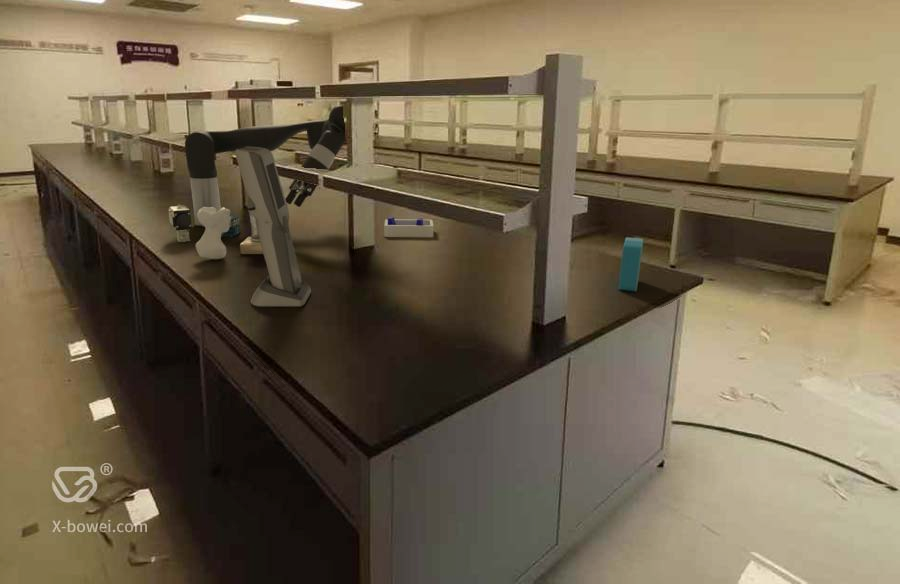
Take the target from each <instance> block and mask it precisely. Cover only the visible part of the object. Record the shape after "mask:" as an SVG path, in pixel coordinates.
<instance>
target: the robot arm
mask: <svg viewBox="0 0 900 584" xmlns="http://www.w3.org/2000/svg"><path fill="white" fill-rule="evenodd" d="M343 105H344V104H336V105H335V106H333V108H332V109H331V111H330V112H329V115H328V118H327V119H317V120H316V119H315V120H309V121H308V120H306V121H302V122H295V123H286V124H269V125H266V124H265V125H256V126H247V127H241V128H236V129H232V130H225V131H222V130H221V131H219V130H218V131H215V130H214V131H211V130H210V131H209V130H196V131H193V132H191V133H189V134H188V135H187V136H186V138H185V140H184V150H185V151H184V152H185V158H186V166H187V171H188V173H189V183H190V190H191V197H192V206H193V216H194V225H195V226H198V227H205V226H204V225H202V224H201V223H200V222H199V220H198V218H197V213H198V211H199V210H200V209H201V208H203V207H208V208H210V207H213V208H215V209H216V212H218V211H219V209H220V208H222V207H221V199H220V198H221V197H220V191H219V188H220V187H219V181H218V170H217V167H216V161H215V155H217V154H223V153H229V152H230V153H231V152H234V153H235V151H236V149H241V148H244V147H246V146H248V147H259V148H266V149H268V150H270V151H271V152H272V151H275V150H277V149H279V148H281V146H282V145H283V144H284V143H286V142H287V141H288V140H290V139H291V138H293V137H294V136H296V135H298V134H301V133H303V132H306V136H307V141H308V145H309V146H308V147H309V148H310V152H309V154H308V155H307V157H306V158H305V160H304V162H303V163H302V165H301V167H304V168H316V169H328V170H329V169H330V168H331V167H332V165H333V163H334V161H335V158H336V157H337V155H338V154H339V152H340V150H341V149H342V148H343V146H344V145H345V144H346V143H347V141H346V139H345V123H344V118H343ZM301 167H300V168H301ZM317 186H318V185H314V184H310V183H306V182H302V181H297V180H295V179H294V180H293V181H292V182H291V184H290V186H288V187H289V188H288V189H289V192H288V194H287V196H285V199H286V203H287V205H292V203H293V205H295V206H296V207H298V208H301V206H302V205H303V203H304V201H305V200H306V199H307V198H308V197H312V195H313V193H314V192H315V190H316V188H317ZM296 196H297V197H296ZM293 201H294V202H293Z"/></svg>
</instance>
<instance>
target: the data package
mask: <svg viewBox="0 0 900 584" xmlns="http://www.w3.org/2000/svg"><path fill="white" fill-rule="evenodd" d="M643 246H644V238H639V237H625V239H624V243H623V247H622V253H621V263H620V271H619V278H618V279H619V280H618V290H620V291H626V292H627V291H628V292H637V290H638V285H639V284H638V283H639V279H640V278H639V276H640V270H641V263H642V262H641V261H642V255H643Z"/></svg>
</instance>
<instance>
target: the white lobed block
mask: <svg viewBox="0 0 900 584" xmlns="http://www.w3.org/2000/svg"><path fill="white" fill-rule="evenodd" d="M230 216H231V210H230V209H228V208H226V207H221V208H220V209H219V211H218V212H216V209H215V208H213V207H210V208H208V207H203V208H201V209H200V210H199V211H198V213H197V218H198V220H199V222H200V223H201V224H202V225H204V226H203V227H204V228H205V230H204V232H203V234H202V236H201V238H200V239H199V240H198V241H197V242H196V243H195V249H196V251H197V253H198V255H199V256H200V257H201V258H203V259H210V260H220V259H224V257H226V255H227V247H226V245H225V244H224V243H223V241H222V239H221V238H222V236H221V234H222V233H223V232H227V231H228V230H229V227H230V225H229V223H230V221H231V217H230Z"/></svg>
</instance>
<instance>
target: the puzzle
mask: <svg viewBox="0 0 900 584" xmlns="http://www.w3.org/2000/svg"><path fill="white" fill-rule="evenodd" d="M230 217H231V221H230V223H229V225H230V227H229V230H228V231H227V232H223V233H222V234H221V237H223V236H234V237H236V236H237V234H238V235H240V234H241V233H242V232H241V223H240V216H234V215H233V216H232V215H230ZM239 233H240V234H239ZM235 235H236V236H235Z"/></svg>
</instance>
